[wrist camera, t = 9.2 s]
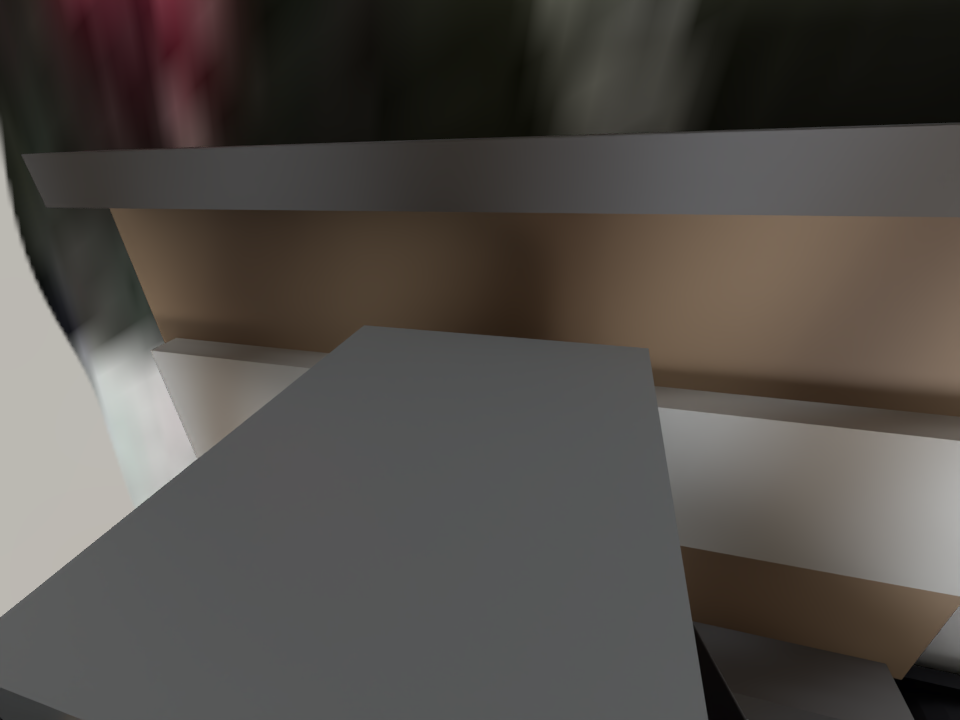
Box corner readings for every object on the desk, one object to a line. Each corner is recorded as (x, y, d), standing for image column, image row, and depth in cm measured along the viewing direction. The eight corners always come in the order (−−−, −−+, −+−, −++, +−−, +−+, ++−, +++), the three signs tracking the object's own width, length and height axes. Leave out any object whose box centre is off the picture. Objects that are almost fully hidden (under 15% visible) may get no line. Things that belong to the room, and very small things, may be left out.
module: (648, 347, 7) (766, 1076, 2) (604, 617, 10) (595, 1149, 5) (364, 325, 8) (-99, 696, 3) (406, 572, 11) (227, 958, 6)
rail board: (1222, 112, 6) (1605, 105, 4) (870, 643, 12) (931, 768, 10) (134, 148, 11) (3, 154, 9) (268, 515, 17) (212, 579, 15)
